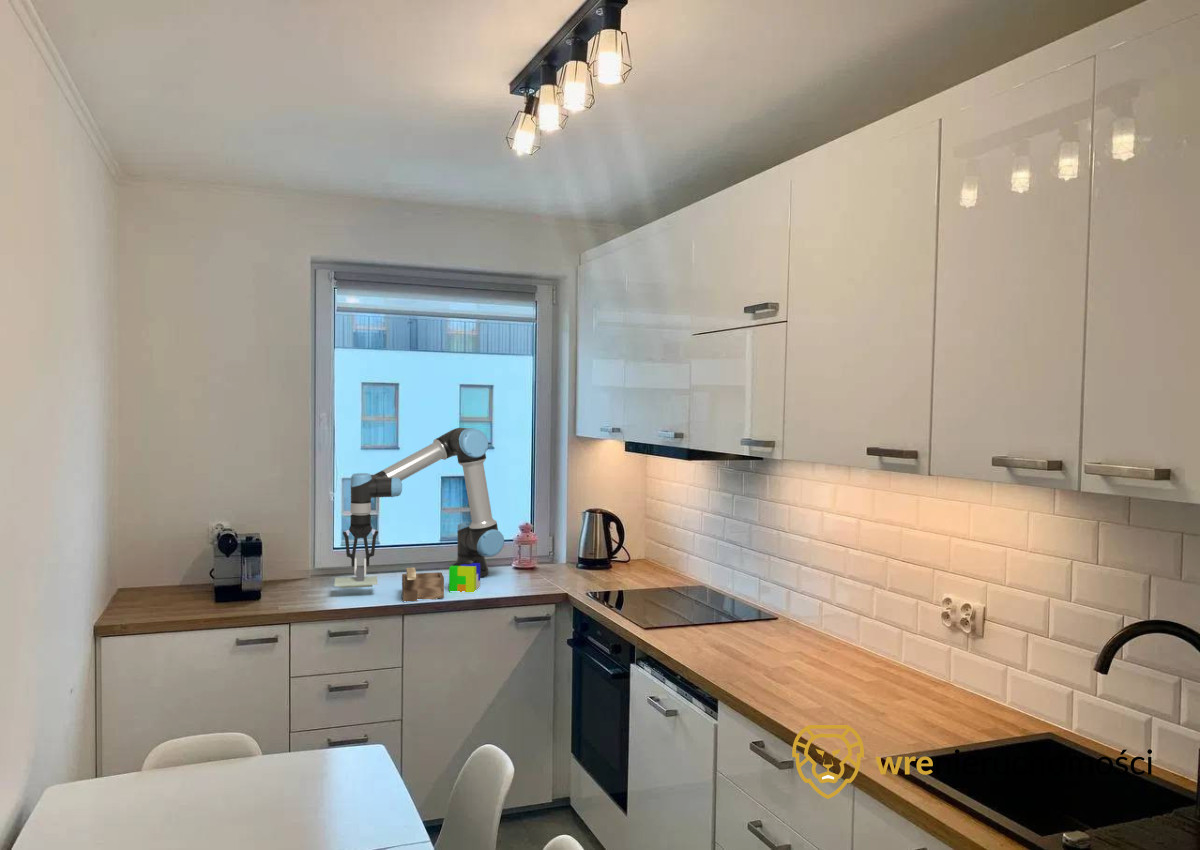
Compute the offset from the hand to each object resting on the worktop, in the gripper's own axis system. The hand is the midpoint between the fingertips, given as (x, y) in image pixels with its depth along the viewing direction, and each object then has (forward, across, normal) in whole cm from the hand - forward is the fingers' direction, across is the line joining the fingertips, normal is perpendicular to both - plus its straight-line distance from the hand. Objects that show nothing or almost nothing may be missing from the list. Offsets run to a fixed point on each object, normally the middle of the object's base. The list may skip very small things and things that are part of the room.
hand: (360, 574), depth 329 cm
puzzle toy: (+8, -40, -1) cm, 41 cm away
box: (+8, -23, +9) cm, 26 cm away
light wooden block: (-2, -18, +18) cm, 26 cm away
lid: (+4, +2, 0) cm, 4 cm away
